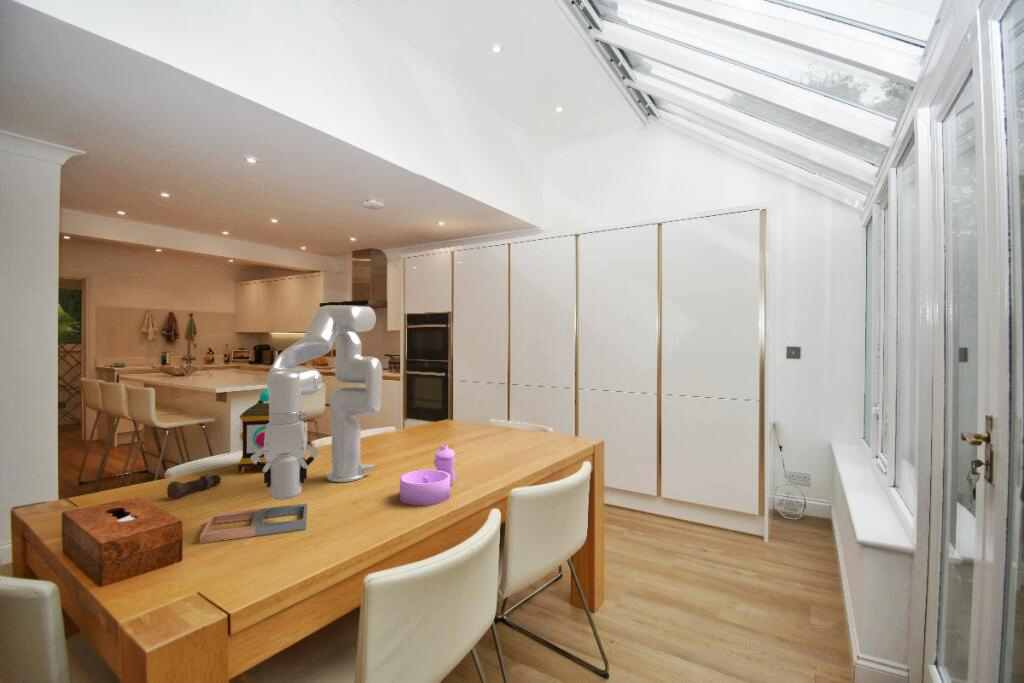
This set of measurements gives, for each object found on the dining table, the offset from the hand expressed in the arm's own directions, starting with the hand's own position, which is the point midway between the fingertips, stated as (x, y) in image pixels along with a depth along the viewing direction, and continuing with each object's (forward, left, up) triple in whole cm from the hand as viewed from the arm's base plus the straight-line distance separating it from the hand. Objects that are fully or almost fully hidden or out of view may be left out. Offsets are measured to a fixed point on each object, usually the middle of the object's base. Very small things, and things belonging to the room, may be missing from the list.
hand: (285, 483), depth 125 cm
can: (0, 0, -4) cm, 4 cm away
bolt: (+27, -36, -11) cm, 46 cm away
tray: (+6, +1, -10) cm, 12 cm away
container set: (-42, -9, -11) cm, 44 cm away
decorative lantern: (+9, -60, -10) cm, 62 cm away
